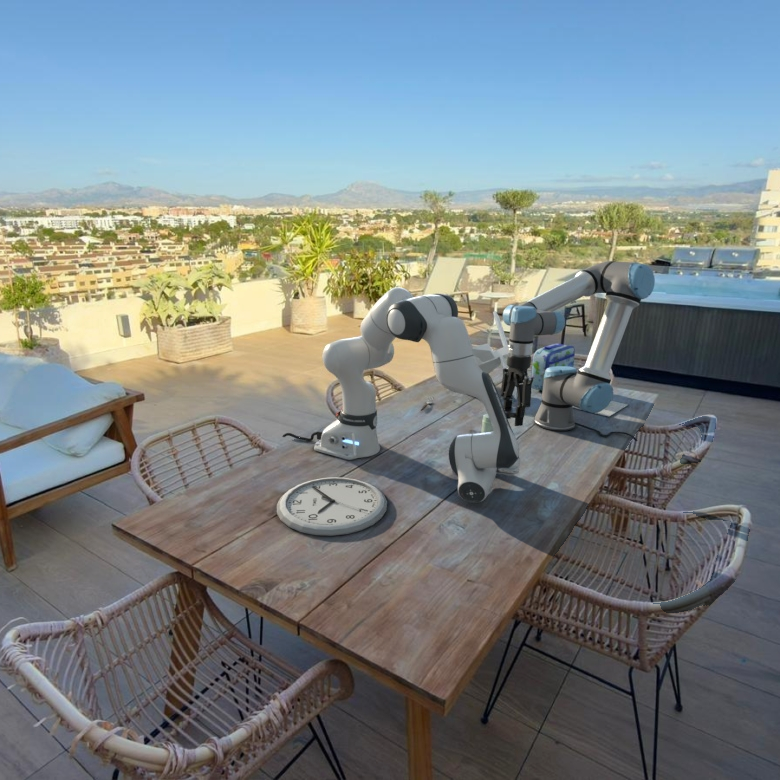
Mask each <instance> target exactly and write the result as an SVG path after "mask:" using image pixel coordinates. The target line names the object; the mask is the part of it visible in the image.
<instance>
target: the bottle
mask: <svg viewBox="0 0 780 780" xmlns="http://www.w3.org/2000/svg"><path fill="white" fill-rule="evenodd" d="M492 431H494V429H493V427H492V424H491V421H490V419H489V416H488V413H487V412H486V413H484V414H483V416H482V421H481V433H484V432H492Z"/></svg>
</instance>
